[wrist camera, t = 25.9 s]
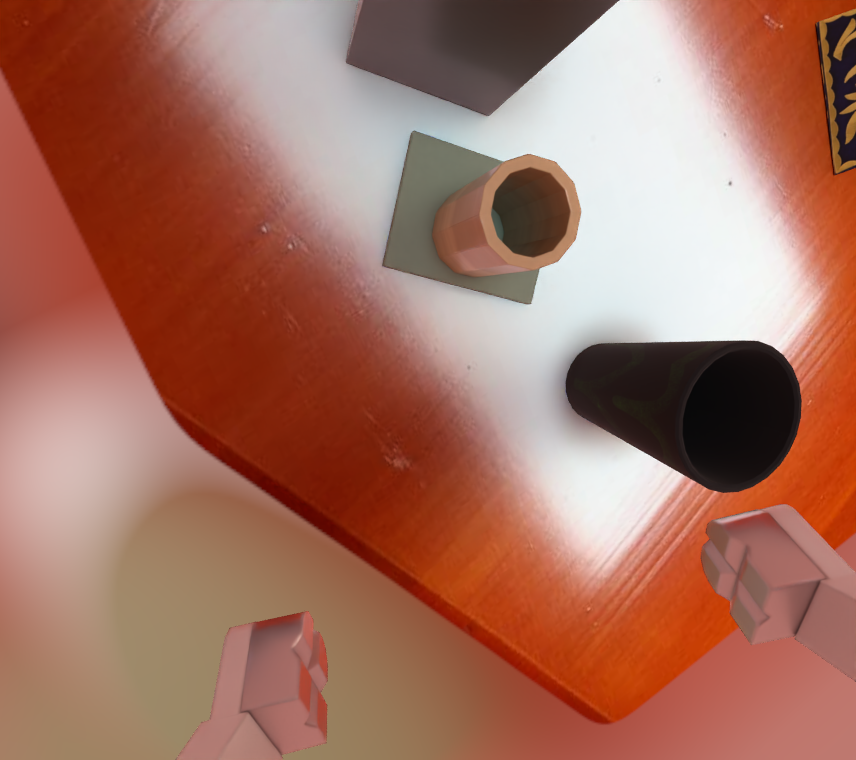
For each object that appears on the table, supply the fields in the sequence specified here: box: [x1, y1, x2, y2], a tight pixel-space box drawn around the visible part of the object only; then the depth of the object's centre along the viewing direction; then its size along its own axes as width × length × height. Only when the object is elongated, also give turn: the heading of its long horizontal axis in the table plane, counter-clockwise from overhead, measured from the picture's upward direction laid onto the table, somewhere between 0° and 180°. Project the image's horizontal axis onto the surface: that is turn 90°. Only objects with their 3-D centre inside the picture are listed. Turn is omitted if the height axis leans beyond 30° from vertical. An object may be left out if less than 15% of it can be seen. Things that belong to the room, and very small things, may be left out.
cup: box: [566, 341, 802, 493], centre depth 32 cm, size 8×8×12 cm
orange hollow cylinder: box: [432, 154, 581, 277], centre depth 29 cm, size 5×5×8 cm
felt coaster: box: [383, 131, 539, 304], centre depth 33 cm, size 10×8×1 cm
